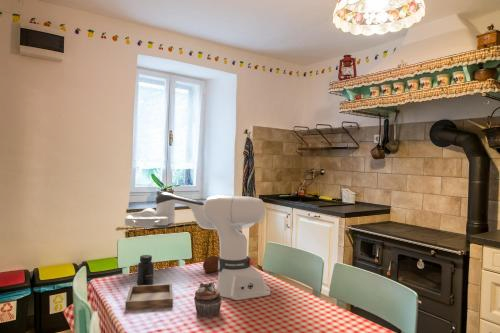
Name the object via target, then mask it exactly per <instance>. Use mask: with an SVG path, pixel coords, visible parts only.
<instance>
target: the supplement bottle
mask: <svg viewBox="0 0 500 333" xmlns="http://www.w3.org/2000/svg"><path fill="white" fill-rule="evenodd" d="M152 257H153V256H152V255H151V254H142V255H140V257H139V262H138V263H137V267H136V286H140V285H154V272H155V263H154V262H153V258H152Z"/></svg>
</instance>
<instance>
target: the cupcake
mask: <svg viewBox="0 0 500 333" xmlns="http://www.w3.org/2000/svg"><path fill="white" fill-rule="evenodd" d="M198 287H199V288H197V290H195V293H194V298H193V300H194V305H195V312H196V315H197V316H199V317H200V318H208V319H209V318H214V317H218V316H219V314H220V312H221V307H222V302H223V298H222V296H220V293H219V291H218V290H217V289H216V284H215V282H212V281H210V283H202V282H201V283H200V285H199V286H198Z"/></svg>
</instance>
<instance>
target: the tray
mask: <svg viewBox="0 0 500 333" xmlns="http://www.w3.org/2000/svg"><path fill="white" fill-rule="evenodd" d="M173 296H174V294H173V283H163V284H160V283H159V284H152V285H140V286H138V285H130V286H129V290H128V294H127V297H126V298H125V311H137V310H138V311H139V310H147V309H148V310H149V309H153V310H154V309H164V308H173V304H174V303H173Z"/></svg>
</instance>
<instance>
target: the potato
mask: <svg viewBox="0 0 500 333" xmlns="http://www.w3.org/2000/svg"><path fill="white" fill-rule="evenodd" d="M218 260H219V256H215V255H211V256H208V257H206V259H204V261H203V263H202V267H203V270H204V271H205V272H206V273H208V274H210V273H214V272H216V271H219V270H218Z"/></svg>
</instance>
